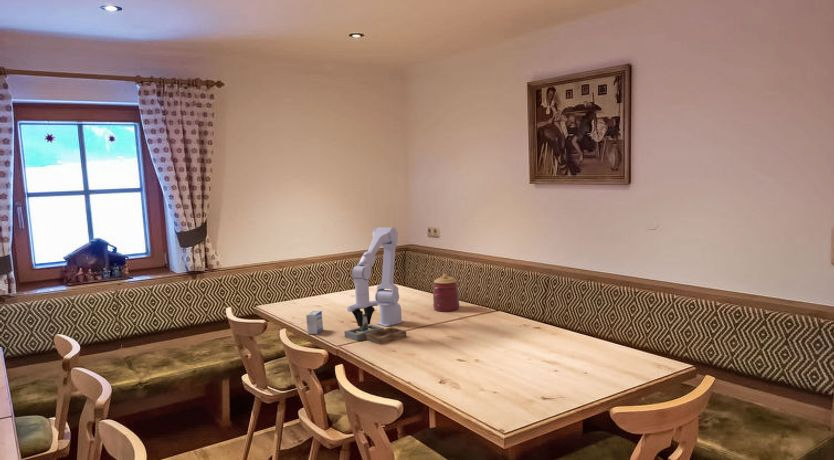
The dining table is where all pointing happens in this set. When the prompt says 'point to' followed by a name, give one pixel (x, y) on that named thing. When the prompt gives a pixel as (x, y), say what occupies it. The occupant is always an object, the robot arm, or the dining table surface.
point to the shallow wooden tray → (385, 335)
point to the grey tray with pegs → (360, 332)
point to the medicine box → (314, 322)
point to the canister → (445, 294)
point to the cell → (364, 322)
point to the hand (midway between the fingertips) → (363, 325)
